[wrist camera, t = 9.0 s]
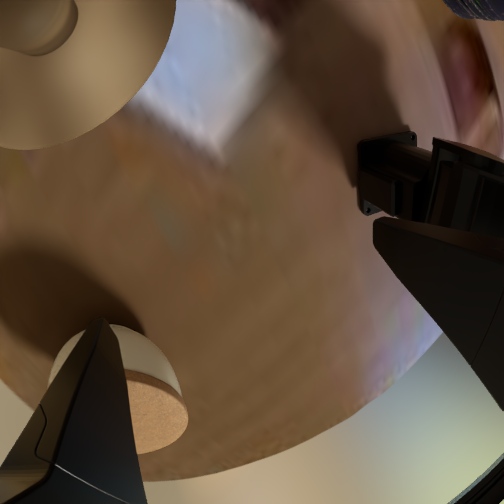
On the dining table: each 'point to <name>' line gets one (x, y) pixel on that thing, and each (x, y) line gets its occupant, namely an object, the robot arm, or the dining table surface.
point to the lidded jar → (144, 389)
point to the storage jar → (477, 9)
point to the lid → (74, 64)
